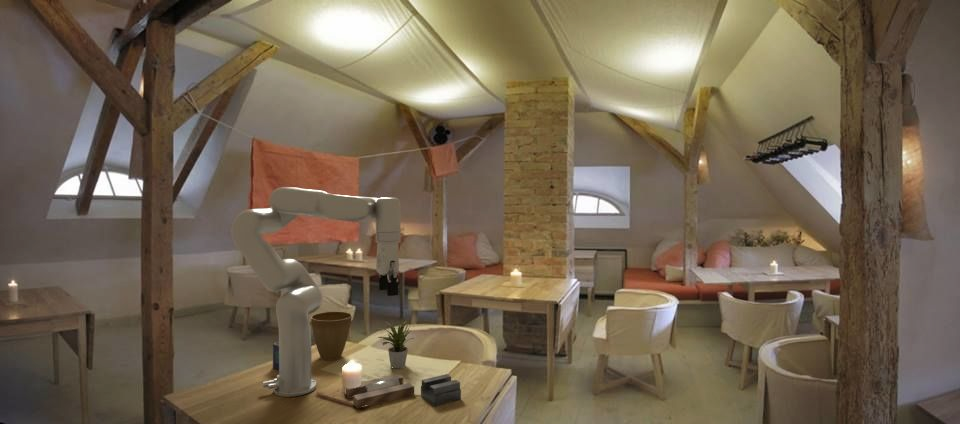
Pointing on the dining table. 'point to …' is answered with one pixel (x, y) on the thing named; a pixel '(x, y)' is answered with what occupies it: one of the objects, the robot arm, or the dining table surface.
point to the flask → (276, 356)
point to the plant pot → (331, 333)
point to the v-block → (440, 390)
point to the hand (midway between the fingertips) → (388, 292)
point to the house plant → (397, 346)
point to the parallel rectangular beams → (379, 392)
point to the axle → (381, 385)
